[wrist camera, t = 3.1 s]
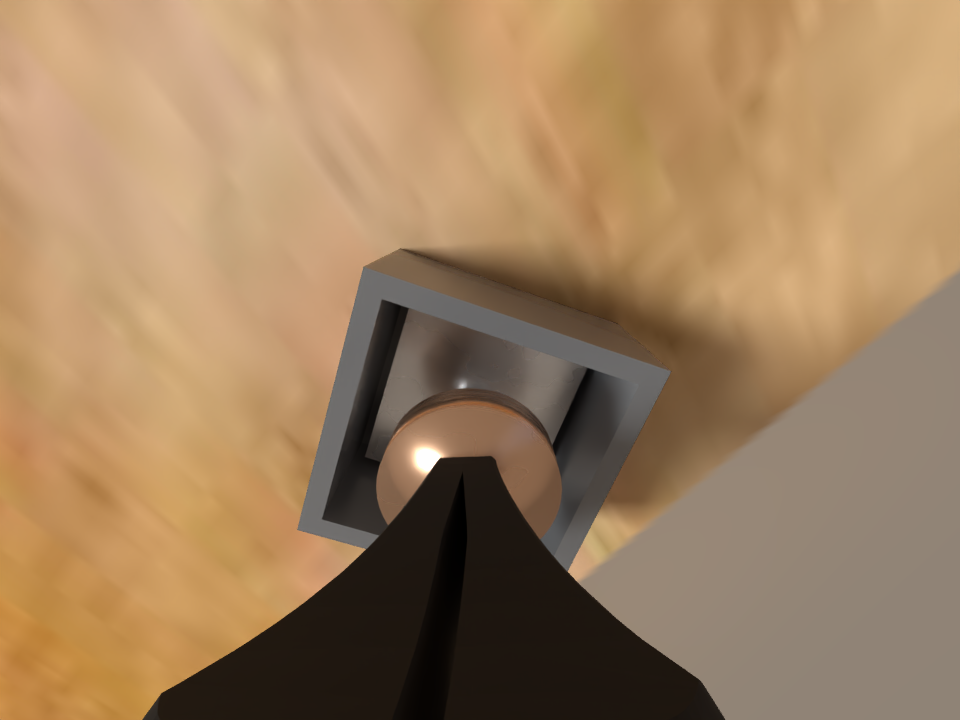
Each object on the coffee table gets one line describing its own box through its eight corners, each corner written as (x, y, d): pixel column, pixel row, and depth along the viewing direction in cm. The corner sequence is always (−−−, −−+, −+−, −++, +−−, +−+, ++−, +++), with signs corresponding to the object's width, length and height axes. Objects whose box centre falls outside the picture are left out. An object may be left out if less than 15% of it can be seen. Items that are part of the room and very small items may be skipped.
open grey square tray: (616, 322, 16) (671, 371, 11) (535, 499, 18) (552, 600, 14) (401, 247, 15) (363, 266, 10) (347, 443, 18) (297, 529, 13)
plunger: (587, 351, 15) (639, 423, 10) (523, 494, 17) (539, 615, 12) (415, 292, 14) (378, 338, 9) (369, 448, 16) (317, 555, 11)
